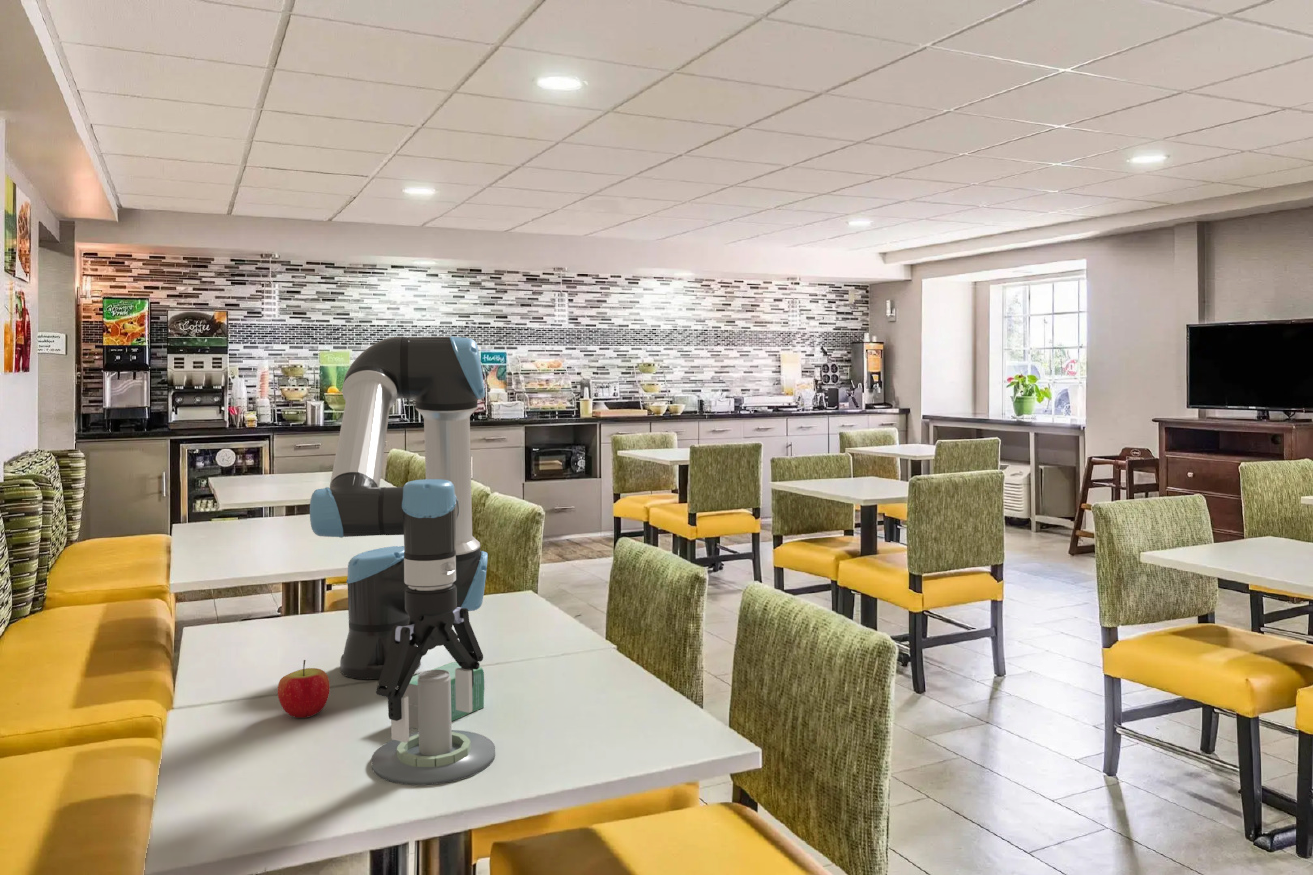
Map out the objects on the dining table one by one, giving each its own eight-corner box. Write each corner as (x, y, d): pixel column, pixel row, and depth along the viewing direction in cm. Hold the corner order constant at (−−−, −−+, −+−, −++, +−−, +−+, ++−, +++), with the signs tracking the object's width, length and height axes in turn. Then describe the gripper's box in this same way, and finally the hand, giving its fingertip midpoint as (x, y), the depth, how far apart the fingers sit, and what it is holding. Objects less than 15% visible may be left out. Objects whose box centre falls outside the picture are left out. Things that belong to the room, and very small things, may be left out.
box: (486, 707, 165) (485, 665, 164) (429, 733, 153) (428, 687, 153) (454, 700, 169) (453, 658, 168) (397, 725, 157) (395, 680, 157)
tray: (345, 768, 139) (344, 753, 139) (431, 728, 155) (431, 715, 155) (437, 795, 130) (437, 779, 130) (519, 749, 146) (519, 735, 146)
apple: (281, 727, 156) (279, 667, 155) (275, 711, 163) (274, 654, 162) (334, 719, 159) (332, 660, 159) (326, 703, 167) (324, 647, 166)
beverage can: (421, 747, 145) (420, 669, 144) (454, 745, 145) (452, 668, 144) (416, 760, 140) (414, 680, 139) (449, 758, 140) (448, 679, 139)
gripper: (386, 605, 128) (390, 759, 130) (504, 571, 150) (506, 703, 151) (347, 599, 132) (351, 748, 133) (467, 566, 154) (469, 695, 155)
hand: (433, 725), depth 142 cm, fingers open, 13 cm apart
